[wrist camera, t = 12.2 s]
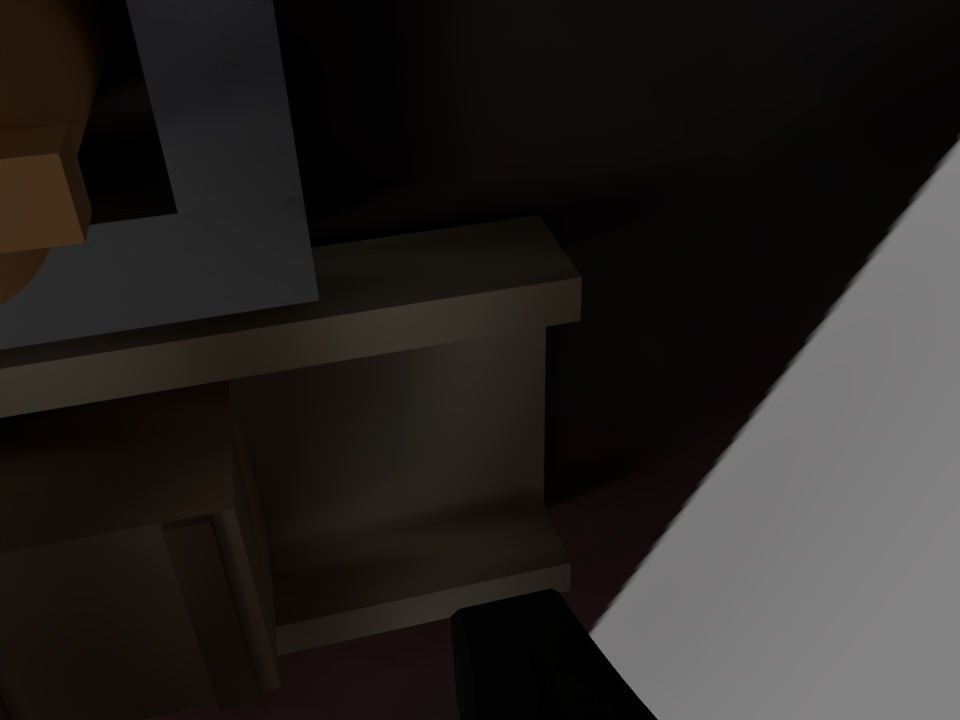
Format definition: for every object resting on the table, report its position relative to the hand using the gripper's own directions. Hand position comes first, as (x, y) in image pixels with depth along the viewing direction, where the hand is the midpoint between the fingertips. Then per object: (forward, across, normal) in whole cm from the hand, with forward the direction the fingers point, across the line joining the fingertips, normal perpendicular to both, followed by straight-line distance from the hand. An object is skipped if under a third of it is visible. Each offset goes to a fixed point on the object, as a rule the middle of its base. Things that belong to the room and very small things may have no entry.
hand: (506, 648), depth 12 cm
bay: (+10, +4, +4) cm, 11 cm away
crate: (+9, +6, +4) cm, 12 cm away
